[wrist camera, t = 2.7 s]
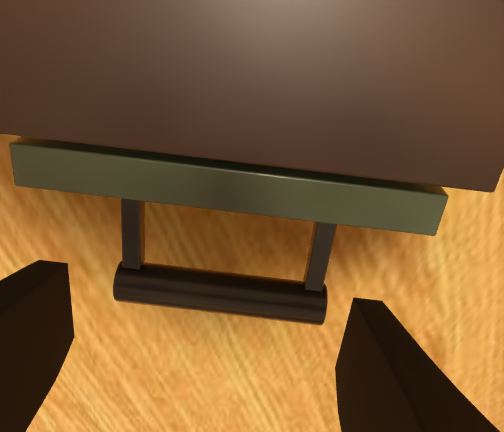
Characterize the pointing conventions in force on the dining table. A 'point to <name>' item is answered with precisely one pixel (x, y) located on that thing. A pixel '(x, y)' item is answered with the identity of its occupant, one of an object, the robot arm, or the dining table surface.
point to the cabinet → (267, 82)
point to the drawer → (227, 199)
